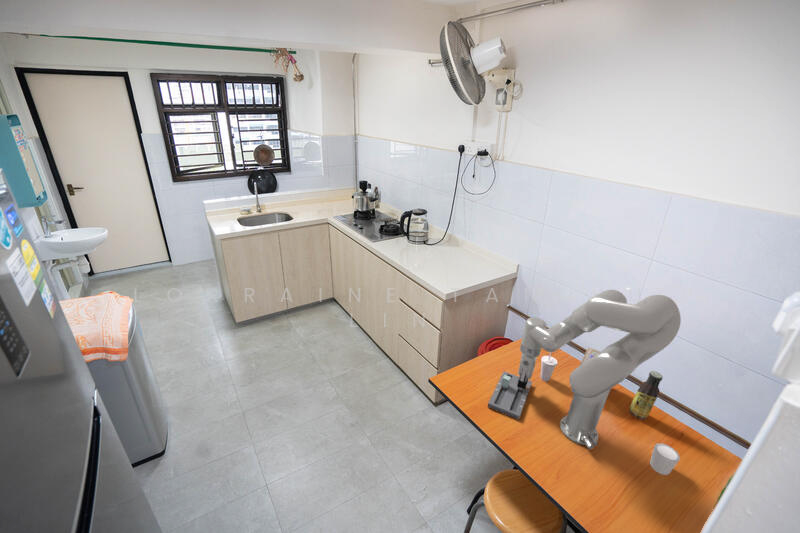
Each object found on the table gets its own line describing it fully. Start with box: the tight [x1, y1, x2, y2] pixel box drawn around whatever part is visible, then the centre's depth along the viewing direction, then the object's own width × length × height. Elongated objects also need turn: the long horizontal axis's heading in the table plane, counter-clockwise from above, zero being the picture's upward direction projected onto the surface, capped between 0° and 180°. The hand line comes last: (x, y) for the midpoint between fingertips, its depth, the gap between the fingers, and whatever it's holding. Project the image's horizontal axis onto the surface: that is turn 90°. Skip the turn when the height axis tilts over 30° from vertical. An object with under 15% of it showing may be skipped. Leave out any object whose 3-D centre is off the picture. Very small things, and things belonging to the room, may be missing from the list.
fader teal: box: [501, 375, 511, 390], centre depth 147 cm, size 2×3×5 cm
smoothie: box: [540, 352, 558, 382], centre depth 154 cm, size 6×6×14 cm
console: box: [487, 371, 533, 421], centre depth 146 cm, size 22×12×2 cm, turn 150°
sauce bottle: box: [628, 370, 664, 421], centre depth 136 cm, size 7×6×20 cm
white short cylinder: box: [649, 443, 681, 476], centre depth 118 cm, size 7×7×7 cm
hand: (522, 385), depth 147 cm, fingers closed on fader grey, 2 cm apart
